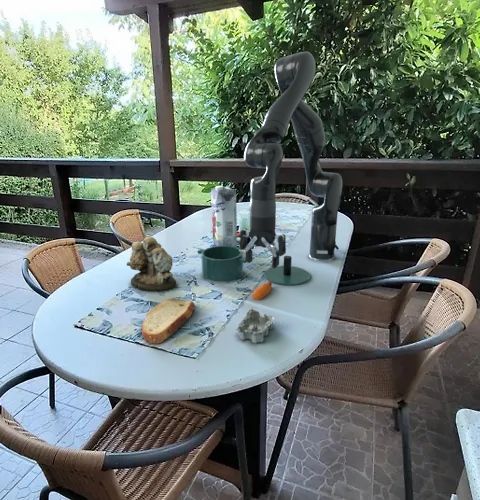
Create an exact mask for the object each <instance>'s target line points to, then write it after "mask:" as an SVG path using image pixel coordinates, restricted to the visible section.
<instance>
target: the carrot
mask: <svg viewBox="0 0 480 500" xmlns="http://www.w3.org/2000/svg"><path fill="white" fill-rule="evenodd" d="M272 284H273V283H272V281H268V282H265V283H263V284H262V285H260V286H259V287H258V288H257V289H256V290H254V291H253V292H252V298H253V299H254V300H255V301H261V300H262V299H264V298H265V297H266V296H267V295H268V294H269V293H270V292H271V291H272V286H273V285H272Z"/></svg>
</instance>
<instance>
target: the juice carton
mask: <svg viewBox="0 0 480 500" xmlns="http://www.w3.org/2000/svg"><path fill="white" fill-rule="evenodd" d="M210 190H211V191H210V194H211V195H210V197H211V198H210V200H211V203H210V204H211V226H212V241H213V245H214V246H232V247H237V243H238V227H237V225H238V222H237V220H238V219H237V216H238V215H237V190H236V189H232V188H230V186H222V185H217V186H215V187H213V188H211V189H210Z"/></svg>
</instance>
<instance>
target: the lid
mask: <svg viewBox="0 0 480 500" xmlns="http://www.w3.org/2000/svg"><path fill="white" fill-rule="evenodd" d="M292 259H293V258H292V256H291V255H283V265H278V266H277V267H276V268H272V267H270V268H267V269H266V270H265V271H264V278H265V279H266V280H267V281H268V282H269V281H272V284H275V285H279V286H287V287H289V286H291V287H292V286H299V285H303V284H306V283H308V282H309V281H310V279H311V273H310V272H309V271H307V270H306V269H304V268H301V267H299V266H298V267H297V266H294V265H293V266H292Z"/></svg>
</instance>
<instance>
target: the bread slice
mask: <svg viewBox="0 0 480 500" xmlns="http://www.w3.org/2000/svg"><path fill="white" fill-rule="evenodd" d="M195 308H196V304H195V303H194V302H193V301H192V300H181V299H177V298H168V299H164V300H163V301H161V302H159V303H158V304H156V305H155V306H153V308H151V309H150V310H149V311H148V313H147V314H146V315H145V320H144V321H143V322H142V324H141V335H142V337H143V339H144V340H145V341H147V342H148V343H150V344H154V345H155V344H156V345H157V344H161V343H163V342H165V341H166V340H167V339H168V338H170V337H172V335H173V334H175V333H176V332H177V330H179V328H180V327H181V326H183V324H185V323H186V321H187V320H188V319H189V318H191V316H192V314H193V313H194V310H195Z"/></svg>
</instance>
